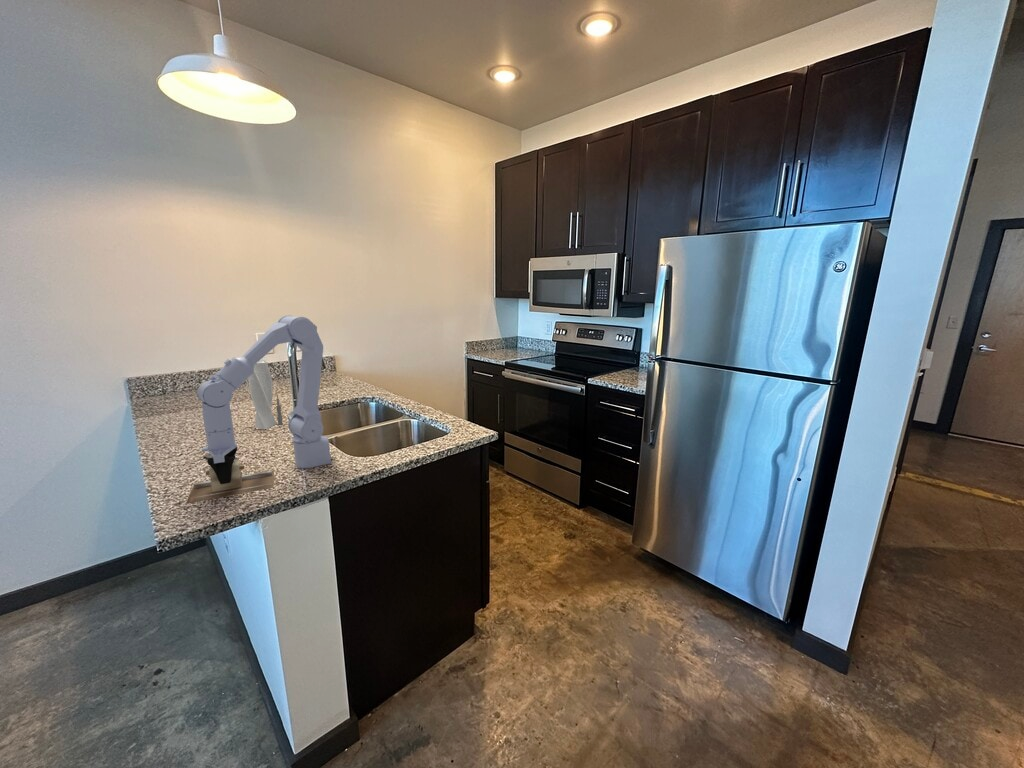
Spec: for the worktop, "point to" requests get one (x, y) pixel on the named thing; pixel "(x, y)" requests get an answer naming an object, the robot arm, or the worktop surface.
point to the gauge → (235, 479)
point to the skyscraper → (263, 396)
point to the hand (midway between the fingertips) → (226, 479)
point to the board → (248, 485)
